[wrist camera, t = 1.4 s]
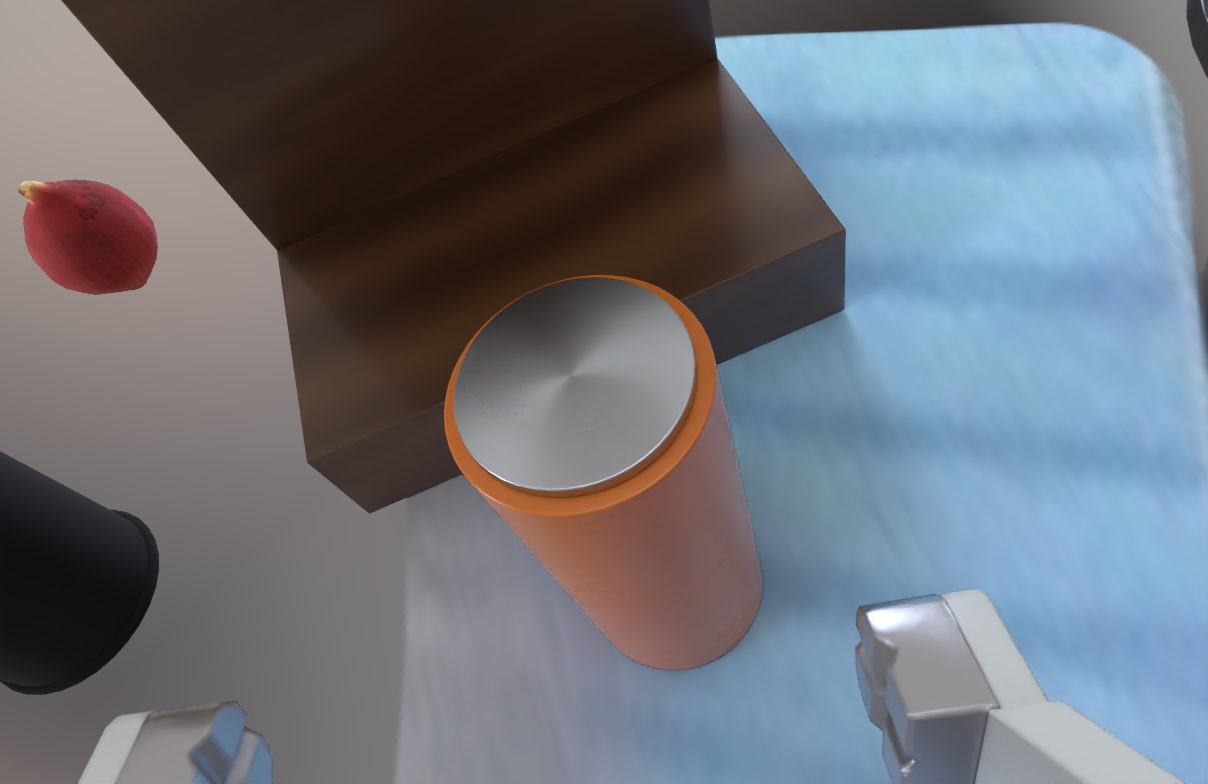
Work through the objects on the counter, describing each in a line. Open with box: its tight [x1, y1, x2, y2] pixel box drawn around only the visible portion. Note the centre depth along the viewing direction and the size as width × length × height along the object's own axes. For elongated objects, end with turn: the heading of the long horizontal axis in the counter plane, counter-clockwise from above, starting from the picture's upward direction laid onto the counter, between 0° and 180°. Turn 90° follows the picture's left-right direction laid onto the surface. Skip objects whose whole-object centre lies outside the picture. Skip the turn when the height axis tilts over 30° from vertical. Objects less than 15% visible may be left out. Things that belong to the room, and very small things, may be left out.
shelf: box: [61, 0, 846, 513], centre depth 28 cm, size 13×22×24 cm, turn 109°
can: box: [444, 275, 763, 670], centre depth 24 cm, size 6×6×14 cm
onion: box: [18, 180, 158, 295], centre depth 43 cm, size 6×6×8 cm
